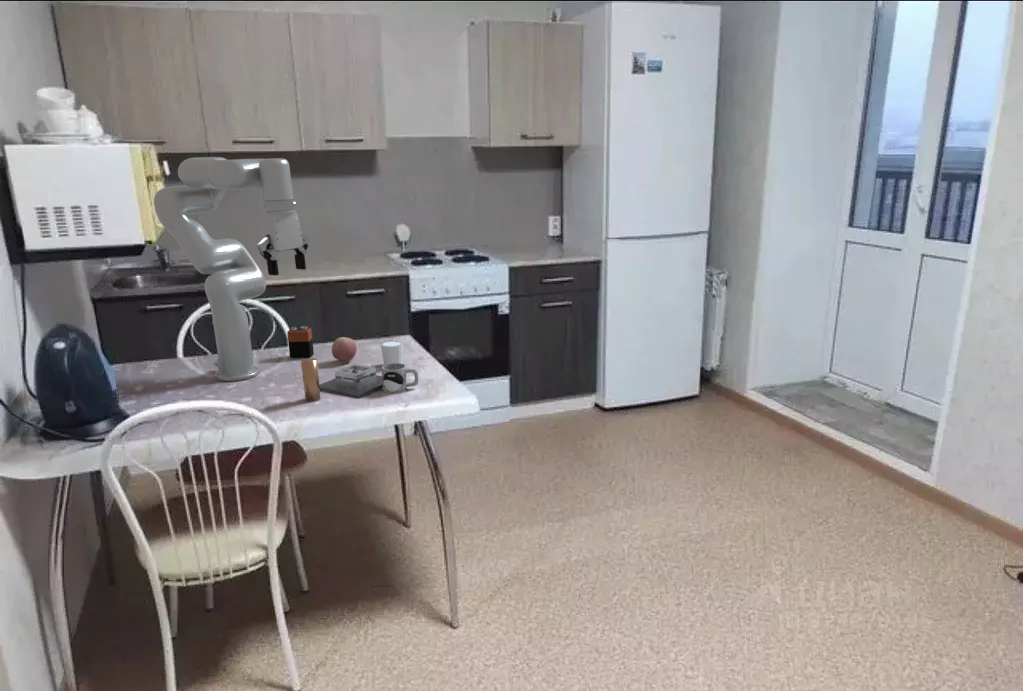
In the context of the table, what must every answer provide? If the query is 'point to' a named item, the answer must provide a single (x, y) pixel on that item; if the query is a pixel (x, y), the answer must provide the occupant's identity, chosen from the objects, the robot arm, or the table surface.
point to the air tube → (310, 379)
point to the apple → (344, 349)
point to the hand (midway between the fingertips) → (287, 272)
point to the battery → (300, 342)
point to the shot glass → (392, 352)
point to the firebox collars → (354, 381)
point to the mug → (397, 377)
